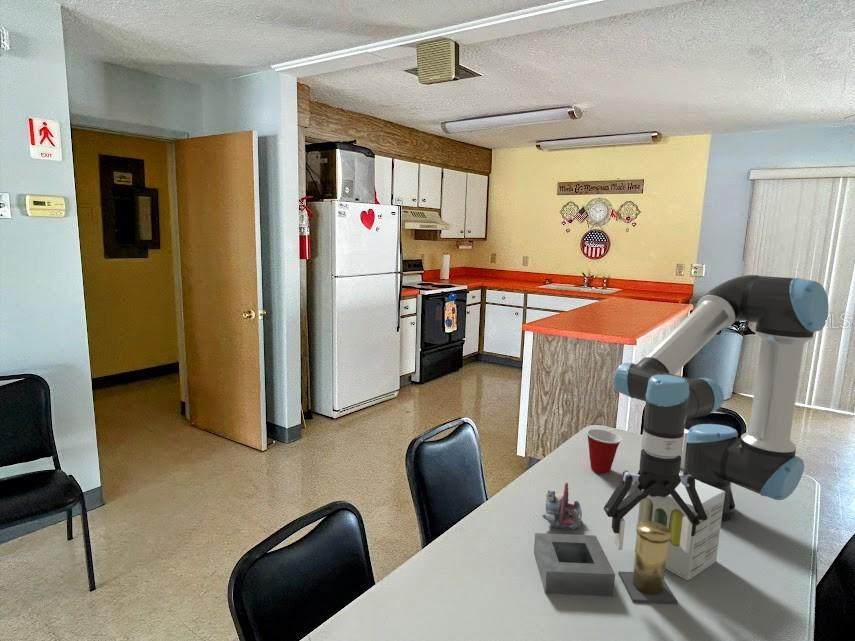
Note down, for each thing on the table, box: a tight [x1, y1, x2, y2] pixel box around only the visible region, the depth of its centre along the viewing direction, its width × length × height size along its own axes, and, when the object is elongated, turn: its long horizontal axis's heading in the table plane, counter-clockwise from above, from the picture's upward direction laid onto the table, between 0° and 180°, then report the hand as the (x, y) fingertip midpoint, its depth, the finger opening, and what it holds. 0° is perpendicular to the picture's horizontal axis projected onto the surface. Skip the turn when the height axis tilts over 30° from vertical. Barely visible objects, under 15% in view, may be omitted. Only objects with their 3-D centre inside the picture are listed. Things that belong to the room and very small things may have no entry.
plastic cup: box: [586, 428, 623, 475], centre depth 166 cm, size 11×11×12 cm
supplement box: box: [634, 472, 725, 581], centre depth 121 cm, size 13×13×18 cm
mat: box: [618, 570, 679, 605], centre depth 111 cm, size 9×9×1 cm
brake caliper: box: [541, 481, 583, 531], centre depth 136 cm, size 11×11×12 cm
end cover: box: [632, 521, 671, 595], centre depth 110 cm, size 7×7×13 cm
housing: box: [533, 532, 616, 597], centre depth 115 cm, size 14×14×5 cm
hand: (651, 547), depth 110 cm, fingers open, 13 cm apart
